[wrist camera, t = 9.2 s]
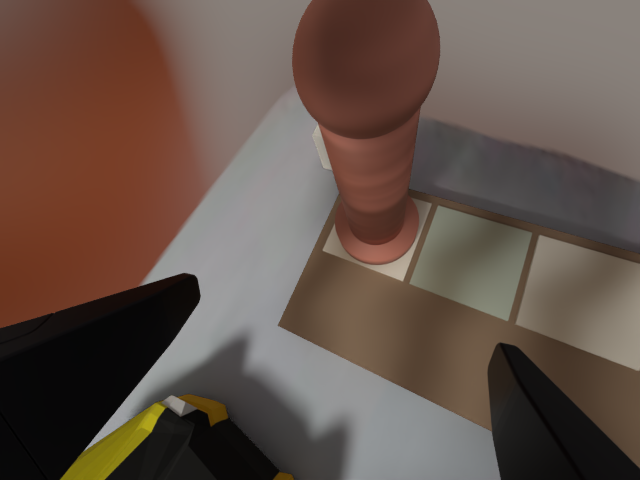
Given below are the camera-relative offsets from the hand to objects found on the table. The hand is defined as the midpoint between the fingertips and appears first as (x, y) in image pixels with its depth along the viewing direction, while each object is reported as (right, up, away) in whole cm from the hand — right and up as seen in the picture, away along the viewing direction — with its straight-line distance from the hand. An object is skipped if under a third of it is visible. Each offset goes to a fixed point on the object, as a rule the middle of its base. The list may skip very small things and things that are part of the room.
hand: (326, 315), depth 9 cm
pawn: (+4, +3, +11) cm, 12 cm away
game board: (+8, -2, +10) cm, 13 cm away
